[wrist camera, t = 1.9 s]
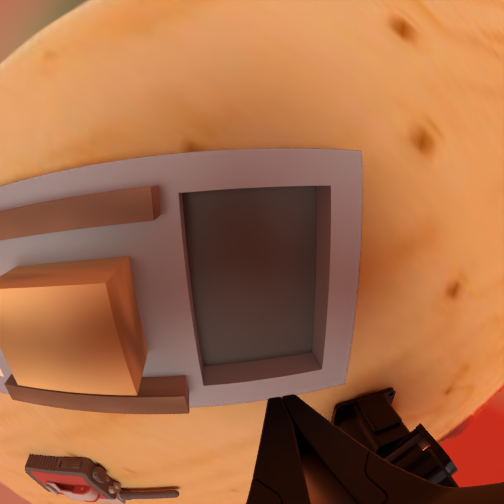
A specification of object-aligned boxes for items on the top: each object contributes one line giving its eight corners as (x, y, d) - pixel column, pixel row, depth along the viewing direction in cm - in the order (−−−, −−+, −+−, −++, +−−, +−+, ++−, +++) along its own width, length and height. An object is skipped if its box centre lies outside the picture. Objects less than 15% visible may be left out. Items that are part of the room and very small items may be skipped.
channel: (189, 392, 17) (189, 413, 15) (22, 384, 15) (12, 399, 13) (158, 185, 14) (150, 186, 12) (-30, 218, 12) (-48, 224, 10)
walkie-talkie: (61, 486, 23) (182, 488, 25) (55, 508, 19) (183, 517, 20) (21, 450, 21) (146, 451, 22) (12, 473, 16) (142, 485, 18)
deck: (332, 365, 22) (344, 384, 19) (-30, 368, 17) (-40, 380, 14) (342, 152, 17) (361, 150, 15) (-74, 215, 12) (-91, 220, 10)
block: (148, 351, 16) (137, 395, 12) (42, 350, 15) (18, 384, 11) (128, 255, 14) (105, 283, 11) (16, 266, 13) (-20, 289, 10)
